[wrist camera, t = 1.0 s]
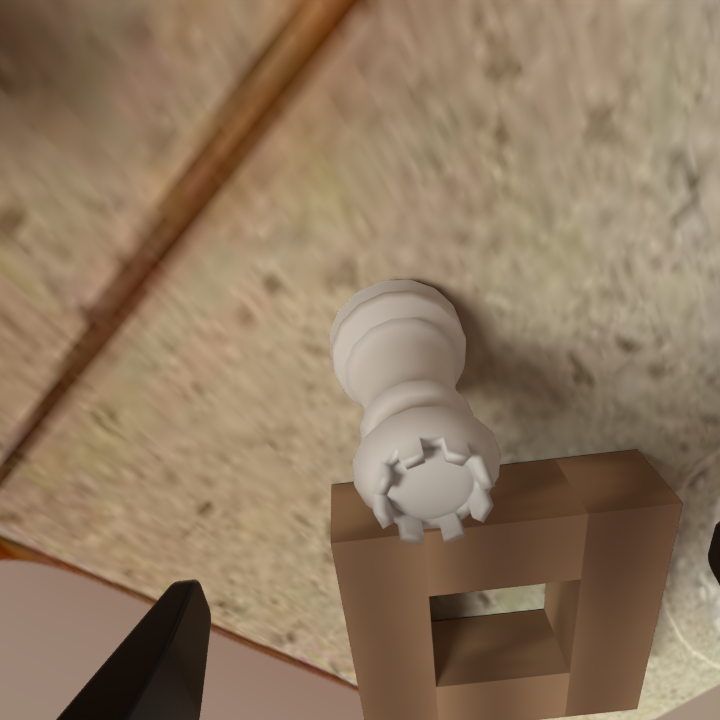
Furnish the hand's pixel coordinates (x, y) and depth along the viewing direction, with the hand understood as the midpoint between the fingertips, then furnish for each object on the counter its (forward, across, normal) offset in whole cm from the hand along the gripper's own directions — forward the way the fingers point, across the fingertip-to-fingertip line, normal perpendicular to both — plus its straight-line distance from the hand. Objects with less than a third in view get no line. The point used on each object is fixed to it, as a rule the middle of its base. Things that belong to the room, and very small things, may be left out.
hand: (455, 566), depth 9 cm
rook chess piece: (+10, 0, 0) cm, 10 cm away
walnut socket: (+10, -3, +12) cm, 16 cm away
